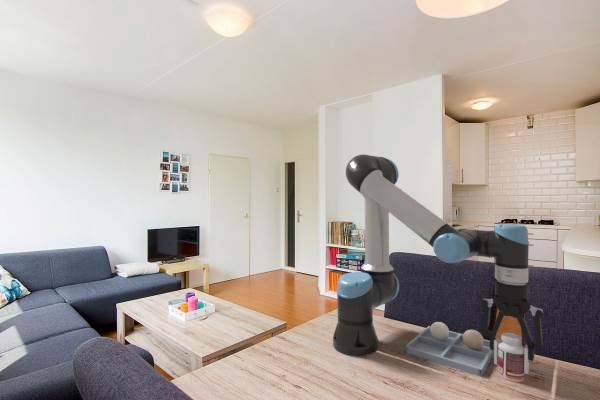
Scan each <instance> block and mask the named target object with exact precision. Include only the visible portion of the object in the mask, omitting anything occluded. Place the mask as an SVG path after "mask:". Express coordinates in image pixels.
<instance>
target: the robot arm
mask: <svg viewBox="0 0 600 400" xmlns="http://www.w3.org/2000/svg"><path fill="white" fill-rule="evenodd" d="M399 175H400V174H399V169H398V166H397V165H396V163H394V162H393V160H391V159H390V158H386V157H384V156H376V155H370V154H364V153H363V154H359V155H355V156H354V157H353V158H350V160H349V161H348V163H347V165H346V168H345V177H346V180H347V182H348V184H350V186H351V187H352V188H354V189H355V190H356V191H357V192H358V193H360V195H361V196H362V197H363V198H364V263H363V264H362V265H361V266H360V271H355V272H347V273H344V274H343V275H341V276H340V277H339V278H338V279H337V287H336V292H337V293H336V294H337V323H336V326H335V330H334V333H333V336H332V346H333V347H334V349H335V350H336V351H338V352H339V353H342V354H345V355H347V356H348V355H349V356H357V357H360V356H361V357H362V356H369V355H372V354H375V353H376V352H377V351H378V348H379V346H380V345H379V338H378V335H377V332H376V329H375V325H374V318H373V317H374V311H373V310H374V309H376V308H378V307H380V306H382V305H387V304H388V303H390V302H391V301H393V300H394V299H395V298H396V297H397V296H398V295H399V292H400V282H399V278H398V277H397V276H396V274H395V273H394V272H395V271H394V267H393V266H392V265H391V263H390V214H391V215H392V216H394V218H395V219H397V220H398V221H400V222H401V223H402V224H403V225H405V226H406V227H407V228H408V229H410V231H412V232H413V233H414V234H416V235H417V236H418V237H419V238H421V239H422V240H423V241H425V242H426V244H428V245H429V246H431V247H432V248H433V252H434V255H435V256H436V258H437V259H439V260H440V261H441V262H443V263H446V264H447V263H448V264H454V263H460V262H463V261H464V260H466V259H469V258H473V257H484V258H490V259H491V258H494V278H495V281H494V297H493V298H488V297H485V298H483V299H482V303H481V304H482V307H483V318H482V328H481V335H482V336H483V335H484V336H486V337H487V338H489V341H490V350H493V351H494V355H493V364H494V365H495V366H496V365H497V362H498V343H499V342H500V337H497V334H498V331H499V330H500V327H501V324H502V321H503V320H504V317H505V316H506V317H512V318H515V319H516V320H517V323H518V324H519V326H520V329H521V332H522V335H523V337H524V340H525V343H526V344H525V345H524V346H523V347H524V373H525V375H526V374H527V375H528V374H529V371H530V362H533V361H534V359H535V350H536V349H539V350H542V349H543V345H544V343H543V330H542V318H541V317H542V315H543V312H544V310H543V308H542V307H535V306H534V305H531V303H530V301H529V285H528V282H529V251H530V250H529V247H530V241H529V230H528V228H527V227H526V225H522V224H513V223H512V224H511V223H510V224H509V223H508V224H506V223H500V224H499V223H498V224H496V225H495V227H494V230H483V229H481V230H480V229H472V228H471V229H469V228H454V227H453V226H452V225H450V224H449V223H448V222H446V221H444V220H443V219H442V218H441V217H439V216H438V215H437V214H435V213H434V212H432V211H431V210H430V209H428V208H427V207H426V206H424V205H423V204H421V202H419V201H418V200H416V199H414V198H413V197H411V196H410V195H409V194H408V193H407V192H405V191H403V190H402V189H401V188H399V187H398V186H397V185H396V183H397V182H398V180H399ZM493 304H494V305H495V307H496V309H497V310H498V313H497V316H496V319H495V321H494V324H493V326H492V329H491V330H490V319H491V311H492V310H491V307H493ZM529 311H530V312H531V315H532V316H533V317H534V318H533V323H534V324H533V325H534V335H535V341H534V339H533V336H532V334H531V331H530V329H529V326H528V323H527V320H526V317H525V314H526V313H527V312H529Z"/></svg>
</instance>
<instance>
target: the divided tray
mask: <svg viewBox="0 0 600 400" xmlns="http://www.w3.org/2000/svg"><path fill="white" fill-rule="evenodd" d="M430 327H431V326H430V325H428V326H427V327H425V328H424V329H423V330H422V331H420V333H418V334H417V335H416V336H415V337H414V338H413V339H411V340H410V341H409V342H408V343H407V344H406V345H405V346H404V353H406V354H409V355H411V356H414V357H417V358H418V357H419V358H421V359H424V360H429V361H431V362H434V363H436V364H441V365H443V366H447V367H449V368H453V369H456V370H459V371H463V372H465V373H469V374H471V375H475V376H477V377H482V378H483V375H484V373H485V372H486V370H487V368H488V365H490V364H489V363H490V362H491V360H492V359H493V357H494V351H493V350H490V340H488V339H484V345H483V347H482V348H481V349H479V350H471V349H469V348H468V347H467V346H466V345H465V344H464V342H463V334H464V333H460V332H459V333H458V332H455V331H451V330H449V336H448V338H447V339H446V340H444V341H438V340H436V339H434V338H433V337H432V335H431V333H430Z"/></svg>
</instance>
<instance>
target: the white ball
mask: <svg viewBox="0 0 600 400" xmlns="http://www.w3.org/2000/svg"><path fill="white" fill-rule="evenodd" d="M449 331H450V329H449V327H448V326H447V325H446V324H445V323H444V322H441V321H435V322H433V323H432V324H431V327H430V333H431V335H432V337H433V338H434V339H436V340H438V341H444V340H446V339H447V338H448V336H449Z"/></svg>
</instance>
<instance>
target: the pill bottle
mask: <svg viewBox="0 0 600 400" xmlns="http://www.w3.org/2000/svg"><path fill="white" fill-rule="evenodd" d="M500 334H501V335H500V340H499V343H498V362H497V367H496V370H497V371H496V373H497V374H498V375H499V377H501V378H502V379H505V380H507V381H511V382H517V383H520V382H524V381H525V377H526V376H525V375H526V373H524V347H525V346H523V345H522V344H523V338H522V337H521V336H520V335H518V334H515V333H513V332H502V333H500Z"/></svg>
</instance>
